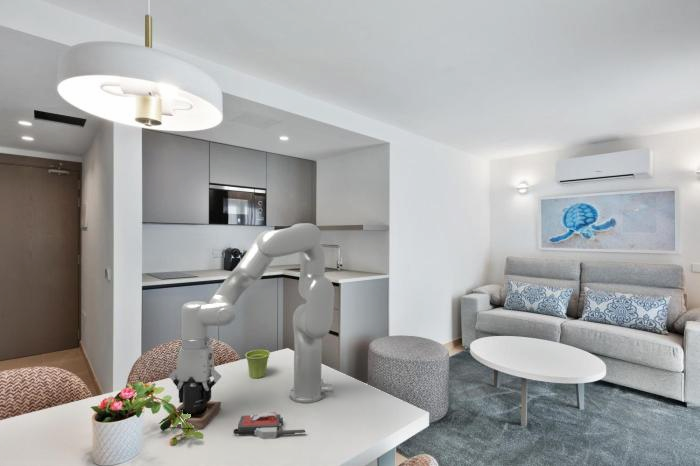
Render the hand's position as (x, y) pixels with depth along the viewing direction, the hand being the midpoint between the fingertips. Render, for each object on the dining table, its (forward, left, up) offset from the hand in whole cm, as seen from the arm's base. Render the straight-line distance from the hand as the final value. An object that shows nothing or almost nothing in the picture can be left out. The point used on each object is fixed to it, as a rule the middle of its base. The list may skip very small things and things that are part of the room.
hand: (194, 400), depth 107 cm
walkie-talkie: (-25, +4, -6) cm, 26 cm away
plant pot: (-8, -33, -5) cm, 34 cm away
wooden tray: (0, 0, -5) cm, 5 cm away
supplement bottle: (0, 0, -4) cm, 4 cm away
